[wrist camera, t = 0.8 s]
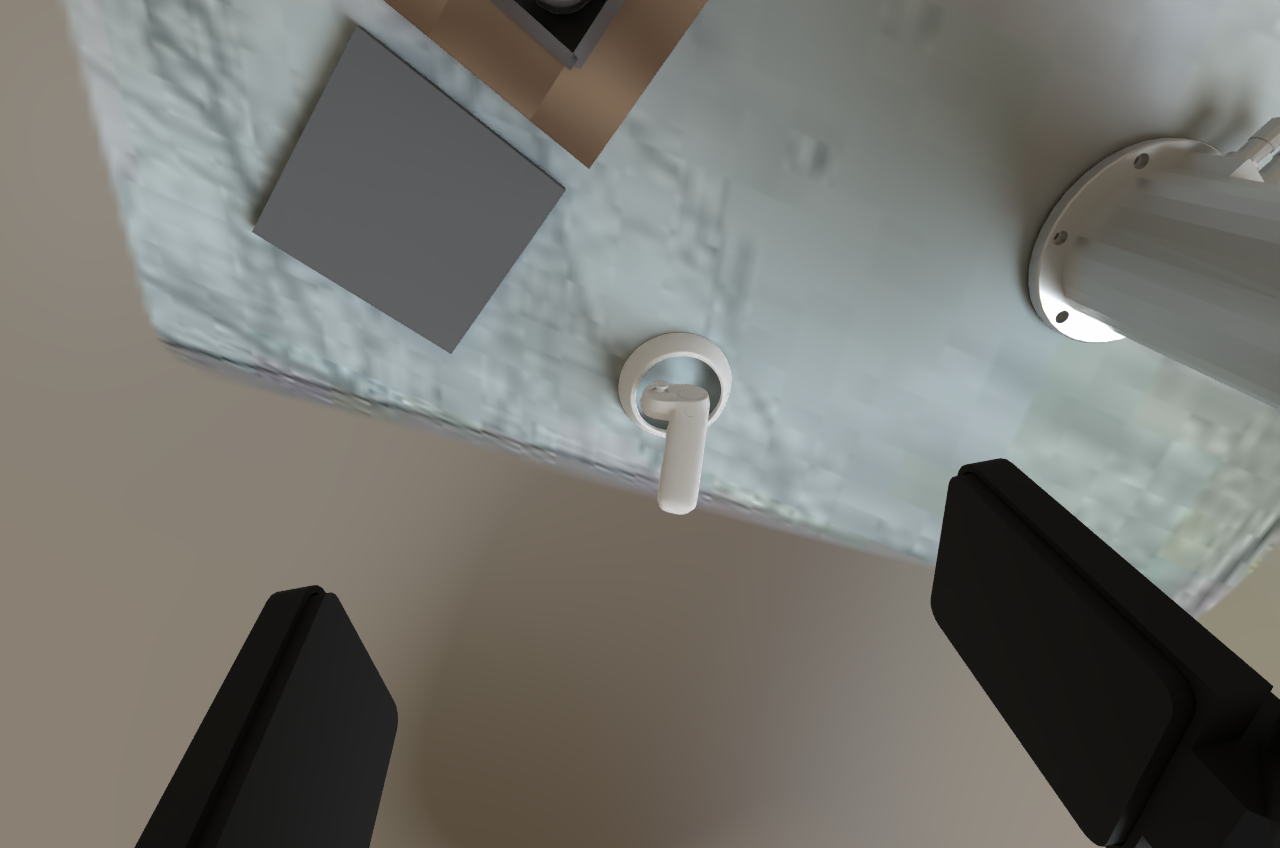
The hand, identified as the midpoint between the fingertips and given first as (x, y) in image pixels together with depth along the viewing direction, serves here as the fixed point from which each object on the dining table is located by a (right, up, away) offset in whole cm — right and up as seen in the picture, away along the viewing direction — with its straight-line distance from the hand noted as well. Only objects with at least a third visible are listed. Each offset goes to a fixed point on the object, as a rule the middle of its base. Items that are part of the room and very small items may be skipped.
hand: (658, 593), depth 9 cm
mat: (-13, +15, +24) cm, 31 cm away
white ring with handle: (+2, +5, +32) cm, 32 cm away
